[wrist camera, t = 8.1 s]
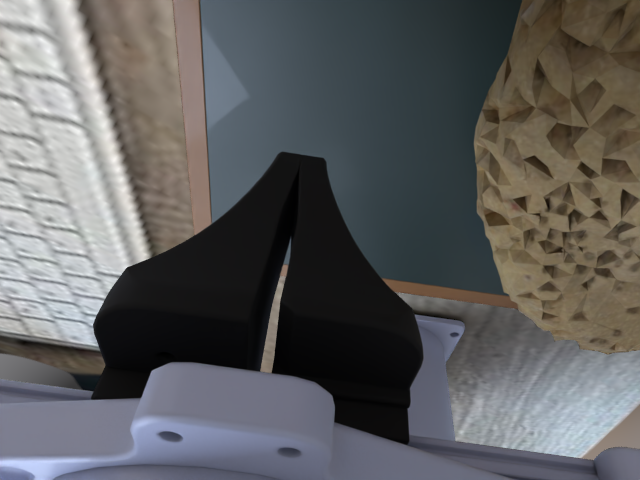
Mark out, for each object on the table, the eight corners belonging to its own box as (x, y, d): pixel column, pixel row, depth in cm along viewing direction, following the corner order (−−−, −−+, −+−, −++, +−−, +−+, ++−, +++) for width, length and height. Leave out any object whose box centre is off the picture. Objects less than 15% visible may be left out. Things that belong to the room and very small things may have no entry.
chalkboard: (634, 320, 28) (637, 326, 28) (198, 258, 27) (196, 264, 27) (1368, -416, 10) (1398, -422, 9) (117, -658, 9) (108, -672, 9)
